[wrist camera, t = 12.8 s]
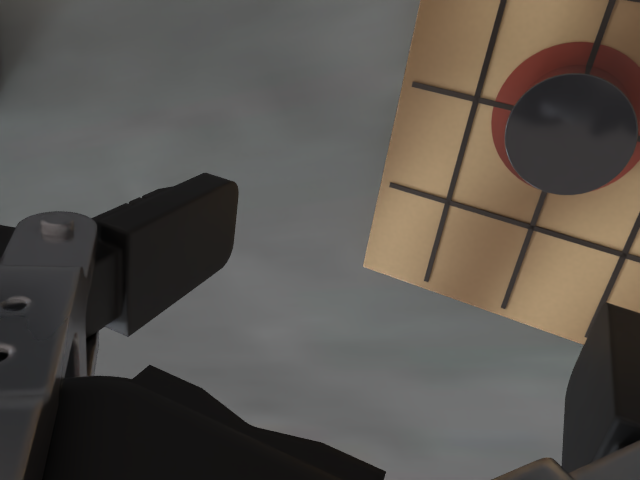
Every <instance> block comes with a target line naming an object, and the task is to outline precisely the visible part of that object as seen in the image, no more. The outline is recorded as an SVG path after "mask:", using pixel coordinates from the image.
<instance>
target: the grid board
mask: <svg viewBox="0 0 640 480" xmlns="http://www.w3.org/2000/svg"><path fill="white" fill-rule="evenodd" d="M569 65H588V66H593V67H597V68H600V69H602V70H605V71H607V72H609V73H610V74H612V75H613V76H615V77H616V78H617V79H618V80H619V81H620V82H621V83H622V84H623V85H624V87H625V88H626V90H627V91H628V93H629V95H630V97H631V100H632V103H633V107H634V110H635V113H636V117H637V122H638V139H637V144H636V147H635V150H634V153H633V155H632V157H631V159H630V161H629V162H628V164H627V165H626V167H625V168H624V169H623V170H622V171H621V173H620V174H619V175H617V176H616V177H615V178H614V179H613V180H612V181H610V182H609V183H607V184H606V185H604V186H602V187H600V188H598V189H596V190H593V191H590V192H587V193H583V194H577V195H556V194H551V193H547V192H544V191H541V190H539V189H537V188H535V187H533V186H532V185H530V184H528V183H527V182H526V181H525V180H523V179H522V178H521V177H520V176H519V175H518V173H517V172H516V171H515V170H514V168H513V167H512V165H511V163H510V161H509V159H508V156H507V153H506V149H505V139H504V135H505V127H506V123H507V120H508V117H509V114H510V112H511V110H512V109H513V107H514V105H515V104H516V102H517V101H518V100H519V98H520V97H521V96H522V95H523V94H524V92H525V91H526V90H527V89H528V88H529V87H530V85H531V84H532V83H533V82H535V81H536V80H537V79H538V78H540V77H541V76H543V75H544V74H546V73H548V72H550V71H552V70H554V69H557V68H560V67H564V66H569ZM363 267H365V268H368V269H371V270H374V271H377V272H379V273H382V274H385V275H388V276H391V277H394V278H396V279H399V280H402V281H405V282H408V283H411V284H413V285H416V286H419V287H422V288H425V289H428V290H430V291H433V292H436V293H439V294H442V295H444V296H447V297H450V298H453V299H456V300H459V301H461V302H464V303H467V304H470V305H473V306H476V307H478V308H481V309H484V310H487V311H490V312H493V313H495V314H498V315H501V316H504V317H507V318H510V319H512V320H515V321H518V322H521V323H524V324H526V325H529V326H532V327H535V328H538V329H541V330H543V331H546V332H549V333H552V334H555V335H558V336H560V337H563V338H566V339H569V340H572V341H575V342H577V343H580V344H583V345H584V344H585V342H586V340H587V337H588V335H589V333H590V331H591V328H592V326H593V324H594V322H595V319H596V317H597V315H598V313H599V311H600V309H601V307H602V306H603V304H604V303H606V302H607V303H610V304H613V305H616V306H619V307H623V308H626V309H629V310H632V311H635V312H638V313H640V0H420V5H419V9H418V14H417V19H416V23H415V28H414V32H413V37H412V42H411V46H410V51H409V56H408V60H407V65H406V69H405V74H404V79H403V83H402V88H401V93H400V97H399V102H398V106H397V111H396V116H395V120H394V125H393V130H392V134H391V139H390V144H389V148H388V153H387V157H386V162H385V167H384V171H383V176H382V181H381V185H380V190H379V194H378V199H377V204H376V208H375V213H374V218H373V222H372V227H371V232H370V236H369V241H368V245H367V250H366V255H365V259H364V264H363Z"/></svg>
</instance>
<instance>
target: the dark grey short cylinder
mask: <svg viewBox="0 0 640 480" xmlns="http://www.w3.org/2000/svg"><path fill="white" fill-rule="evenodd" d="M504 139H505V149H506V153H507V156H508V159H509V161H510V163H511V165H512V167H513V168H514V170H515V171H516V172H517V173H518V175H519V176H520V177H521V178H522V179H523V180H525V181H526V182H527V183H528V184H530V185H532V186H533V187H535V188H537V189H539V190H541V191H544V192H547V193H551V194H556V195H577V194H583V193H587V192H590V191H593V190H596V189H598V188H600V187H602V186H604V185H606V184H607V183H609V182H610V181H612V180H613V179H614V178H615V177H616V176H617V175H619V174H620V173H621V171H622V170H623V169H624V168H625V167H626V165H627V164H628V162H629V161H630V159H631V157H632V155H633V153H634V150H635V147H636V144H637V139H638V122H637V117H636V113H635V110H634V107H633V103H632V100H631V97H630V95H629V93H628V91H627V90H626V88H625V87H624V85H623V84H622V83H621V82H620V81H619V80H618V79H617V78H616V77H615V76H613V75H612V74H610V73H609V72H607V71H605V70H602V69H600V68H597V67H593V66H588V65H569V66H564V67H560V68H557V69H554V70H552V71H550V72H548V73H546V74H544V75H543V76H541V77H540V78H538V79H537V80H536V81H535V82H533V83H532V84H531V85H530V87H529V88H528V89H527V90H526V91H525V92H524V94H523V95H522V96H521V97H520V98H519V100H518V101H517V102H516V104H515V105H514V107H513V109H512V110H511V112H510V114H509V117H508V120H507V123H506V127H505V135H504Z"/></svg>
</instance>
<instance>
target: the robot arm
mask: <svg viewBox="0 0 640 480" xmlns="http://www.w3.org/2000/svg"><path fill="white" fill-rule="evenodd" d="M237 204H238V186H237V184H236V183H235V182H233V181H230V180H227V179H224V178H221V177H217V176H214V175H211V174H208V173H203V174H200V175H198V176H196V177H194V178H191V179H189V180H187V181H185V182H183V183H180V184H178V185H176V186H173V187H167V188H161V189H157V190H155V191H153V192H151V193H148V194H146V195H144V196H142V198H140V197H139V198H137V199H135V200H132V201H130V202H129V204H127V203H125V204H123V205H121V206H119V207H116V208H114V209H112V210H109V211H107V212H105V213H103V214H100V215H98V216H96V217H93V218H89V217H87V216H85V215H82V214H78V213H73V212H64V211H55V212H45V213H39V214H35V215H32V216H29V217H27V218H25V219H23V220H22V221H20V222H19V223H18V225H17V226H16V228H14V227H8V226H2V225H0V480H384V477H385V474H386V471H383V470H381V469H379V468H377V467H375V466H372V465H370V464H368V463H366V462H363V461H361V460H359V459H357V458H355V457H352V456H350V455H348V454H346V453H344V452H341V451H339V450H337V449H335V448H333V447H330V446H328V445H326V444H324V443H321V442H317V441H313V440H308V439H304V438H300V437H295V436H291V435H287V434H283V433H278V432H274V431H270V430H265V429H261V428H257V427H254V426H251V425H249V424H248V423H246V422H245V421H243V420H242V419H241V418H240V417H238V416H237V415H236V414H234V413H233V412H232V411H231V410H229V409H228V408H227V407H225V406H224V405H223V404H221V403H220V402H219V401H218V400H216V399H215V398H214V397H212V396H211V395H210V394H209V393H207V392H206V391H205V390H203V389H202V388H200V387H198V386H196V385H193V384H191V383H189V382H187V381H185V380H182V379H180V378H178V377H176V376H173V375H171V374H169V373H167V372H165V371H162V370H160V369H158V368H156V367H154V366H151V365H149V366H148V367H147V368H145V369H144V370H143V371H142V372H140V373H139V374H138V375H137V376H136V377H134V378H133V379H128V378H121V377H113V376H94V374H95V367H96V361H97V354H98V347H99V330H100V329H102V328H103V327H107V328H109V329H111V330H114V331H116V332H118V333H120V334H123V335H125V336H127V337H129V336H130V335H131V334H133V333H134V332H135V331H137V330H138V329H140V328H141V327H142V326H144V325H145V324H146V323H148V322H149V321H150V320H152V319H153V318H155V317H156V316H157V315H159V314H160V313H161V312H163V311H164V310H165V309H167V308H168V307H170V306H171V305H172V304H174V303H175V302H176V301H178V300H179V299H180V298H182V297H183V296H185V295H186V294H187V293H189V292H190V291H191V290H193V289H194V288H196V287H197V286H198V285H200V284H201V283H202V282H204V281H205V280H206V279H208V278H209V277H211V276H212V275H213V274H215V273H216V272H217V271H219V270H220V269H221V268H223V266H224V265H225V264H226V263H227V261H228V259H229V257H230V255H231V252H232V249H233V243H234V234H235V224H236V214H237ZM492 480H640V313H638V312H635V311H632V310H629V309H626V308H623V307H619V306H616V305H613V304H610V303H607V302H606V303H604V304H603V306H602V307H601V309H600V311H599V313H598V315H597V317H596V319H595V322H594V324H593V326H592V328H591V331H590V333H589V335H588V337H587V340H586V342H585V344H584V346H583V348H582V351H581V353H580V355H579V357H578V360H577V362H576V364H575V366H574V369H573V371H572V374H571V377H570V380H569V383H568V387H567V391H566V397H565V414H564V433H563V451H562V467H561V466H560V465H559V464H558V463H557V462H556V461H555V460H554V459H552V458H542V459H539V460H536V461H534V462H532V463H529V464H527V465H525V466H522V467H520V468H518V469H515V470H513V471H511V472H508V473H506V474H504V475H501V476H499V477H496V478H494V479H492Z"/></svg>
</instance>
